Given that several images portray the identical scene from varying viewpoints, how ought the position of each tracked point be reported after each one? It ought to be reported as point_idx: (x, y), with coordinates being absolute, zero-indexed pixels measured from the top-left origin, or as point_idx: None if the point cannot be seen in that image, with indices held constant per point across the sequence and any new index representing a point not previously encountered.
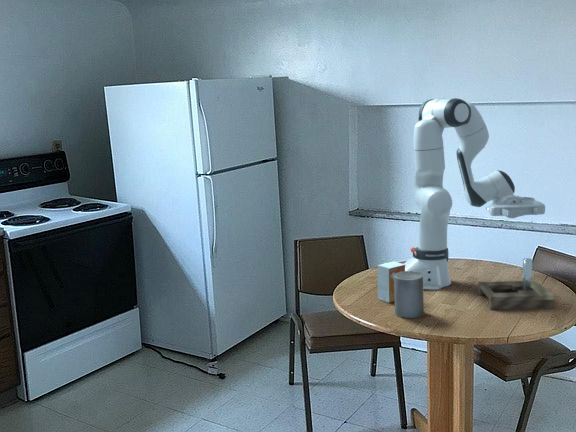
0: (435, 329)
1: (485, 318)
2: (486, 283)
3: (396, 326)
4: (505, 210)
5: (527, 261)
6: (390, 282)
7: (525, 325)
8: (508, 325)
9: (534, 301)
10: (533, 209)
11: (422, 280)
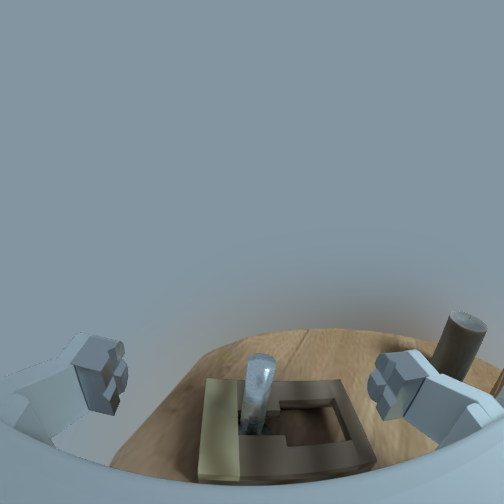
0: (394, 342)
1: (339, 369)
2: (356, 454)
3: (435, 346)
4: (450, 379)
5: (265, 356)
6: (502, 372)
7: (281, 349)
8: (305, 350)
9: None
10: (33, 424)
11: (448, 324)
